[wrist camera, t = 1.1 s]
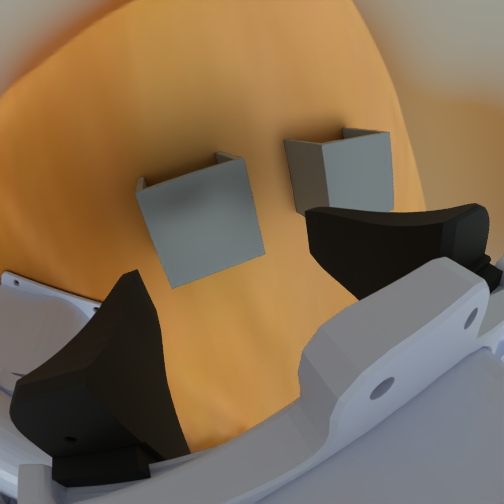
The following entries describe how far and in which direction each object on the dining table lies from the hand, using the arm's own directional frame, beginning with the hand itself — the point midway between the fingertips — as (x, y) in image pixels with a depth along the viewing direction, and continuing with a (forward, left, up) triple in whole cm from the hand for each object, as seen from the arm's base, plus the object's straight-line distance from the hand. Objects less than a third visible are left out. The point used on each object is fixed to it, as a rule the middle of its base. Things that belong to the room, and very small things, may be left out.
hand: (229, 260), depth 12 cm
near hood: (0, 0, -9) cm, 9 cm away
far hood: (+8, +6, -9) cm, 14 cm away
